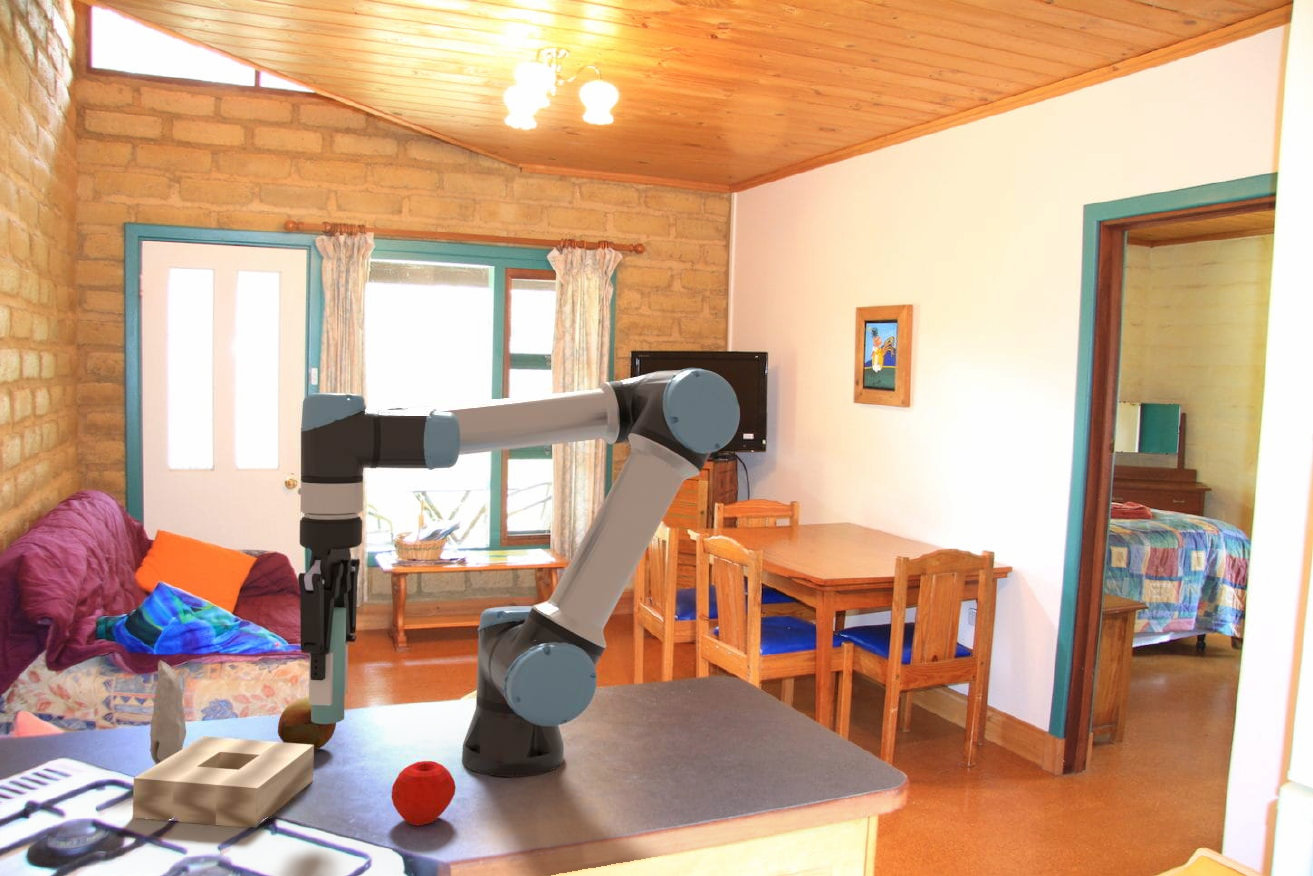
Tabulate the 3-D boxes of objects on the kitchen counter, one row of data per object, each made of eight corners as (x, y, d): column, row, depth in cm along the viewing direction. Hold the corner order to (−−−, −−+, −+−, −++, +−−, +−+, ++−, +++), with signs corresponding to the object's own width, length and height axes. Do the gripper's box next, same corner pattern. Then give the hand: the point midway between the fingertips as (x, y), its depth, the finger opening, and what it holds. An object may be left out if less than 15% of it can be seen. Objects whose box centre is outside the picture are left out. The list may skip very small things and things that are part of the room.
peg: (349, 715, 127) (351, 607, 127) (336, 724, 123) (338, 613, 123) (319, 713, 128) (321, 605, 127) (305, 723, 124) (307, 612, 123)
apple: (454, 833, 123) (457, 774, 122) (388, 836, 121) (391, 776, 121) (454, 807, 130) (456, 751, 130) (392, 810, 129) (394, 753, 129)
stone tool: (166, 778, 136) (170, 669, 135) (141, 778, 135) (145, 669, 135) (189, 754, 145) (192, 653, 145) (165, 754, 145) (169, 653, 144)
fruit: (338, 756, 147) (340, 702, 147) (279, 762, 144) (281, 708, 143) (331, 739, 154) (332, 689, 154) (274, 745, 150) (276, 693, 150)
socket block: (312, 780, 137) (314, 745, 137) (256, 828, 121) (257, 788, 121) (202, 771, 139) (204, 736, 139) (132, 818, 123) (133, 778, 123)
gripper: (330, 507, 134) (328, 678, 134) (270, 521, 117) (267, 718, 117) (384, 509, 133) (381, 681, 134) (332, 524, 116) (328, 721, 117)
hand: (328, 698), depth 126 cm, fingers closed on peg, 4 cm apart
